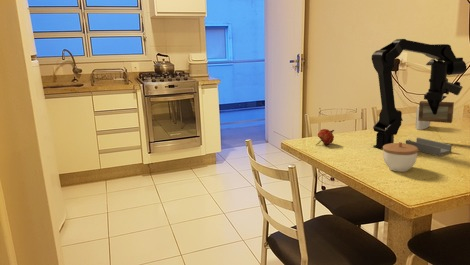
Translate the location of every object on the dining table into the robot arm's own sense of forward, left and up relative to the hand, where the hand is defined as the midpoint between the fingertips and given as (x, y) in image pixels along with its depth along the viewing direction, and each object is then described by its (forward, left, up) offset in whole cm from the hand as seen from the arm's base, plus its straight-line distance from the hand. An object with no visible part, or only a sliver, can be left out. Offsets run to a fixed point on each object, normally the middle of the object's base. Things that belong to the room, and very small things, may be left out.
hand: (435, 113), depth 144 cm
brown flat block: (0, 0, -3) cm, 3 cm away
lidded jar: (-38, -14, -12) cm, 42 cm away
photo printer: (+18, +18, -12) cm, 28 cm away
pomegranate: (-38, +24, -12) cm, 47 cm away
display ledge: (-12, -6, -12) cm, 18 cm away
